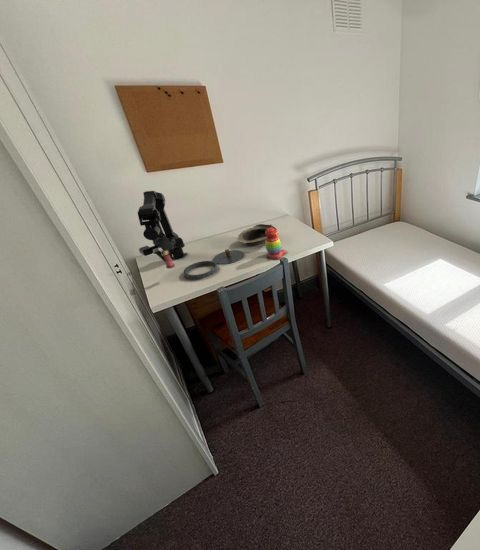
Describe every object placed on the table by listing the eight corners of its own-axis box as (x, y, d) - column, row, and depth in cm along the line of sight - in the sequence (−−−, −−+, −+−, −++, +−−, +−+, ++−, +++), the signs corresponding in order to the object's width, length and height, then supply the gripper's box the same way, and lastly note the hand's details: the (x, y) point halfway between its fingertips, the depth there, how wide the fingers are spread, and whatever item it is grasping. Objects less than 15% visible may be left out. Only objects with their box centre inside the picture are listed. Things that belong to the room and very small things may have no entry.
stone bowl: (283, 236, 205) (281, 224, 200) (266, 254, 186) (263, 241, 180) (252, 232, 210) (249, 221, 205) (232, 250, 190) (228, 237, 185)
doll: (168, 265, 157) (161, 248, 152) (176, 264, 157) (169, 248, 152) (164, 268, 153) (157, 251, 148) (172, 268, 154) (165, 251, 148)
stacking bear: (279, 259, 176) (274, 232, 166) (264, 258, 177) (258, 231, 168) (287, 251, 185) (282, 225, 175) (272, 250, 186) (267, 224, 177)
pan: (193, 266, 170) (191, 261, 169) (222, 264, 172) (220, 260, 170) (180, 281, 156) (178, 276, 155) (212, 279, 157) (210, 274, 156)
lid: (219, 252, 185) (216, 244, 182) (247, 251, 186) (245, 243, 183) (209, 266, 170) (206, 257, 167) (239, 264, 171) (237, 255, 168)
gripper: (142, 243, 135) (156, 271, 143) (183, 229, 148) (193, 257, 156) (132, 237, 140) (145, 265, 148) (172, 225, 153) (182, 251, 161)
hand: (167, 260), depth 153 cm, fingers closed on doll, 3 cm apart
